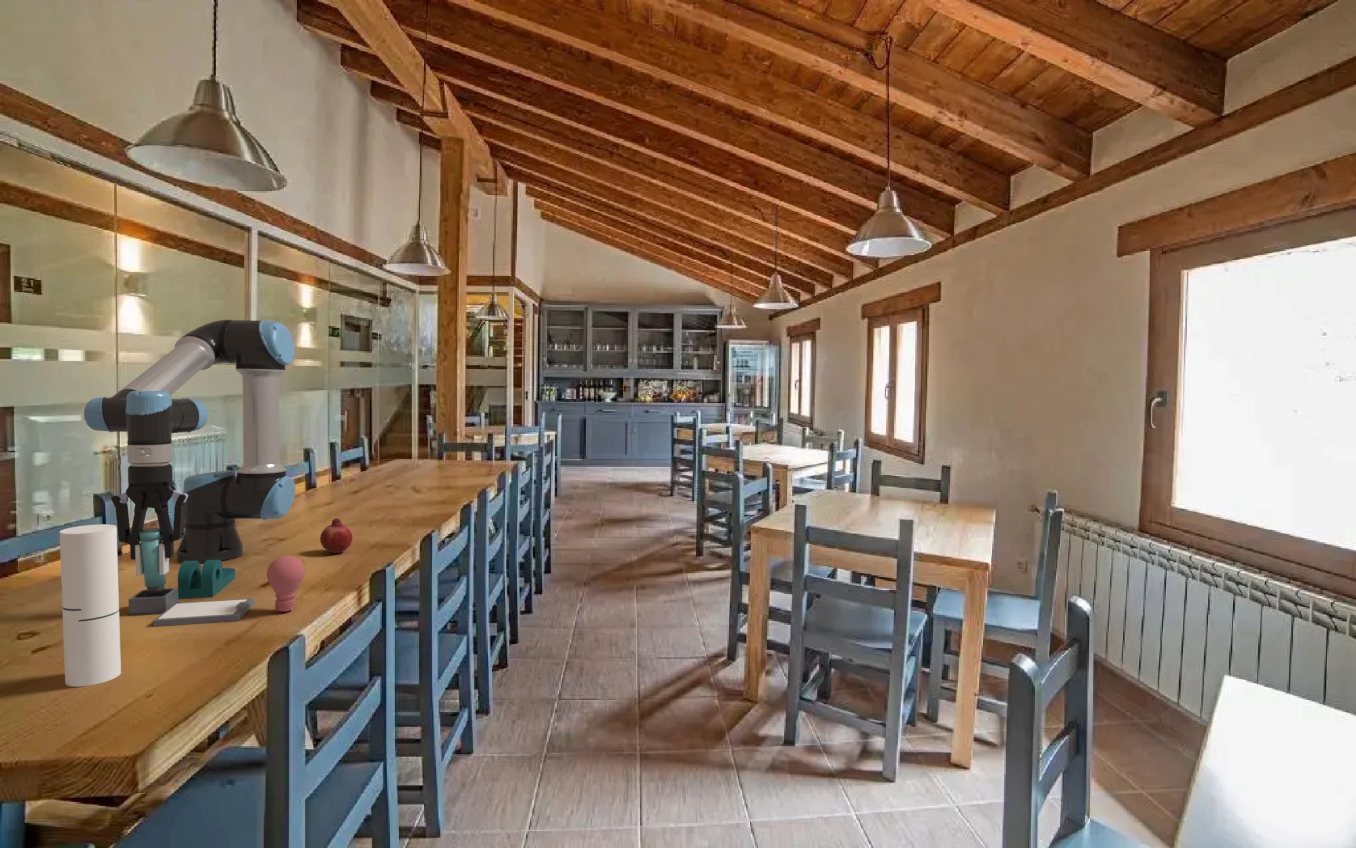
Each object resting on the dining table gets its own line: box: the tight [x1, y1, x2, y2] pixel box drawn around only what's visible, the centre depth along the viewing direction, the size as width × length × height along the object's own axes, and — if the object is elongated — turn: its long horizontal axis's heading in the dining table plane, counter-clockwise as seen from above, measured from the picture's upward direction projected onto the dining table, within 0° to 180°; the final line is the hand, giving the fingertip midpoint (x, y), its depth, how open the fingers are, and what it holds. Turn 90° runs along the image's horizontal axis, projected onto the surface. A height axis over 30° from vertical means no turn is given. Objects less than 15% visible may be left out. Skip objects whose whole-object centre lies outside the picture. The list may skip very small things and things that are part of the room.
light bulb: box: [266, 555, 306, 613], centre depth 150 cm, size 7×7×12 cm
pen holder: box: [128, 587, 179, 617], centre depth 150 cm, size 7×7×4 cm
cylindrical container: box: [59, 523, 122, 688], centre depth 116 cm, size 7×7×25 cm
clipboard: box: [152, 598, 255, 627], centre depth 147 cm, size 11×15×2 cm
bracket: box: [177, 560, 236, 600], centre depth 166 cm, size 18×7×8 cm, turn 16°
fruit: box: [319, 518, 353, 554], centre depth 199 cm, size 8×8×10 cm
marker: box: [139, 527, 167, 596], centre depth 149 cm, size 4×4×14 cm
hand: (152, 573), depth 149 cm, fingers closed on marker, 3 cm apart
